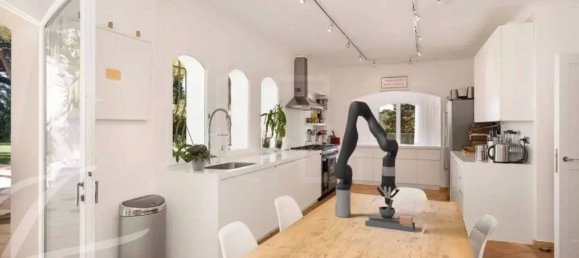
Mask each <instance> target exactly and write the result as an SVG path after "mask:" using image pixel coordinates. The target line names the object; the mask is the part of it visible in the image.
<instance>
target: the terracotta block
mask: <svg viewBox="0 0 579 258" xmlns="http://www.w3.org/2000/svg"><path fill="white" fill-rule="evenodd" d="M413 220H414V219H413V215H410V214H409V215H408V214H401V215H400V216H399V221H400V225H410V226H413V222H414V221H413Z"/></svg>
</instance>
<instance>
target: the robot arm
mask: <svg viewBox="0 0 579 258" xmlns="http://www.w3.org/2000/svg"><path fill="white" fill-rule="evenodd" d="M347 114H348V115H347V120H346V125H345V129H344V130H345V131H344V134H343V137H342V143H341V147H340V151H339V153H338V157H337V161H336V163H335V166H334V170H333V174H334V177H335V178H336V179H337V180H339V181H338V182H337V184H336V195H335V196H336V197H335V199H336V200H335V201H334V203H335V205H334V206H335V207H334V208H335V209H334V213H335V214H334V215H335V217H338V218H350V217H351V215H352V211H351V209H352V207H351V206H352V205H351V203H352V199H351V197H352V194H351V193H352V191H351V189H352V186H353V168H352V166H351V165H350V164H348V162H349V159H350V158H351V157H352V155H353V153H354V152H355V150H356V148H357V146H358V142H359V133H358V132H359V131H358V127H357V124H358V119H359V117H362V118H363V120H365V121H366V122H367V125H368V130H369V132H370V133H371V135H372V136H373V137H374V139H376V141H377V144H378V147H379V149H380V150H381V151H383V152H384V153H386V154H385V155H384V156H383V157H382V167H381V182H380V185H379V186H376V191H378V193H379V194H380V196H381V197H382V198H384V203H385V205H389V204H390V199H393V198H394V197H395V196H397V194H398V193H399V192H400V188H397V186H396V160H397V159H396V158H397V157H398V156H397V155H398V153H399V143H398V141H397V140H396V139H394V138H392V139H390V138H389V139H388V138H387V137H388V133H387V131H386V130H385V129H384V127H383V126H382V125H381V124H380V123H379V121H378V120H377V118H376V116H375V114H374V113H373V112H372V109H371V108H370V106H369V105H368V104H367V102H365V101H362V100H361V101H360V100H354V101H352V102H351V103H350V104H349V107H348V113H347ZM383 191H384V192H383ZM393 191H394V193H393ZM392 193H393V194H392Z"/></svg>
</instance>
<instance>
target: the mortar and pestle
mask: <svg viewBox="0 0 579 258" xmlns="http://www.w3.org/2000/svg"><path fill="white" fill-rule="evenodd" d="M393 202H394V199H393V198H391V199H390V204H389V205H387V206H379V207H378V212H379V214H380V216H381V218H382V219H390V220H393V219H392V218H393V217H394V216H395V214H396V208H395V207H392V206H393Z"/></svg>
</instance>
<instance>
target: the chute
mask: <svg viewBox="0 0 579 258" xmlns="http://www.w3.org/2000/svg"><path fill="white" fill-rule="evenodd" d="M364 223H365V225H364V226H366V227H371V228H373V227H374V228H380V229H387V230H392V231H393V230H394V231H395V230H396V231H400V232H401V231H402V232H408V233H413V232H414V229H416V222H415V221H413V226H410V225H400V220H398V219H384V218H382V217H381V218H380V217H373V216H368V220H365V222H364Z"/></svg>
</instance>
